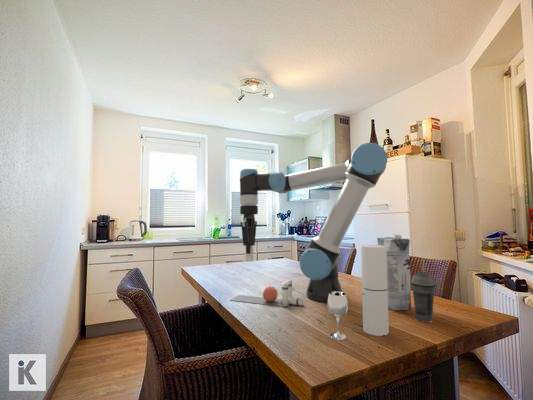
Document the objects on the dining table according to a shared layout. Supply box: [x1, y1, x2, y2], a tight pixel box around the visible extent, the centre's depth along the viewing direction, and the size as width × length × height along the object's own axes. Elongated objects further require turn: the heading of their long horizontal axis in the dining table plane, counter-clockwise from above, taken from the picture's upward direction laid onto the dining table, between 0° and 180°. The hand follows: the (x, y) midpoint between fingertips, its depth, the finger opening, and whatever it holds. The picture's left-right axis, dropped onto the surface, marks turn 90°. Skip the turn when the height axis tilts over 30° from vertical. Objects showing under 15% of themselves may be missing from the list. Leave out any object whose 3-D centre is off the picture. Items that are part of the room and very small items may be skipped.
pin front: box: [280, 296, 304, 306], centre depth 107 cm, size 2×2×8 cm
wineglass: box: [326, 291, 349, 341], centre depth 79 cm, size 6×6×12 cm
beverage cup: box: [410, 258, 437, 323], centre depth 92 cm, size 7×7×20 cm
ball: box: [262, 286, 279, 302], centre depth 111 cm, size 6×6×6 cm
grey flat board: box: [230, 294, 290, 308], centre depth 112 cm, size 24×8×1 cm, turn 69°
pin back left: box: [281, 282, 289, 308], centre depth 106 cm, size 2×2×8 cm
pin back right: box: [285, 279, 293, 298], centre depth 111 cm, size 2×2×8 cm
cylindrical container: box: [360, 244, 390, 337], centre depth 83 cm, size 7×7×25 cm
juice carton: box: [376, 234, 412, 312], centre depth 105 cm, size 9×10×27 cm
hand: (249, 261), depth 117 cm, fingers closed
